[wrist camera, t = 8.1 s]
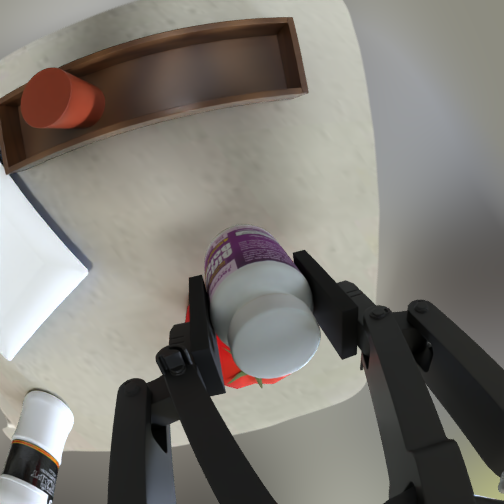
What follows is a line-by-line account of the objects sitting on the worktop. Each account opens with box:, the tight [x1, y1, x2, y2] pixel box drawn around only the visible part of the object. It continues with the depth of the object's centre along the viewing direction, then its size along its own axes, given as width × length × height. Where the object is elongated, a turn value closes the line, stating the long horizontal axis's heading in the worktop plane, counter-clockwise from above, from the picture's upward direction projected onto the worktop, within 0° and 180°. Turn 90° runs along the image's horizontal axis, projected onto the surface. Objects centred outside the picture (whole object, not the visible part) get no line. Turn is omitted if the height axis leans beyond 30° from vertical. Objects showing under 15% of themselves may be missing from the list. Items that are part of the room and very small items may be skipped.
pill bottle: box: [205, 224, 321, 379], centre depth 17 cm, size 5×5×10 cm
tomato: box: [185, 306, 290, 389], centre depth 31 cm, size 11×13×10 cm
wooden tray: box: [0, 17, 308, 175], centre depth 22 cm, size 29×8×4 cm, turn 100°
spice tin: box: [21, 68, 105, 129], centre depth 19 cm, size 5×5×9 cm
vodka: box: [0, 391, 74, 504], centre depth 22 cm, size 9×9×30 cm
